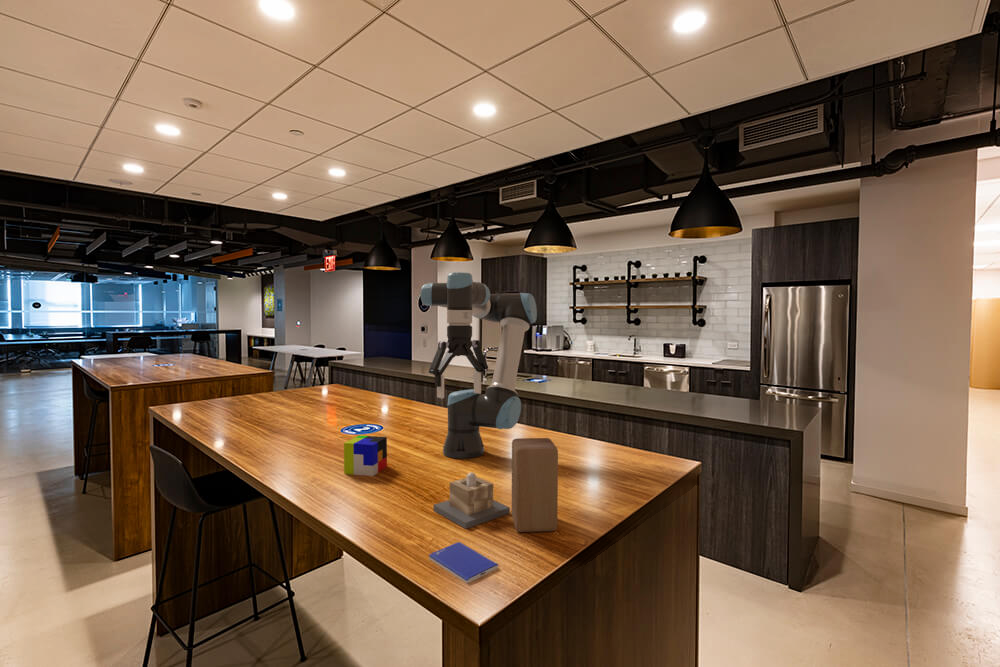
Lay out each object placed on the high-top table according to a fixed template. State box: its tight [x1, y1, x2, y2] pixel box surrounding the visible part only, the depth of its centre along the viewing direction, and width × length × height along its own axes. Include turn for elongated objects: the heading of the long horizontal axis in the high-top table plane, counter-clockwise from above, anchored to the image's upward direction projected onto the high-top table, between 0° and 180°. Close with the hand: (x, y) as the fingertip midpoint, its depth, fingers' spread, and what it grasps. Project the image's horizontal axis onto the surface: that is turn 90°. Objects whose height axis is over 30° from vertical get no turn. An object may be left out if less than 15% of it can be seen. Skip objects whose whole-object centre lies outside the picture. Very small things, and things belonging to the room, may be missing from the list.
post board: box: [432, 472, 511, 530], centre depth 121 cm, size 14×14×10 cm
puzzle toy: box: [343, 434, 388, 477], centre depth 155 cm, size 10×10×10 cm
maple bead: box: [449, 476, 494, 515], centre depth 122 cm, size 8×8×6 cm
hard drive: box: [428, 541, 499, 584], centre depth 96 cm, size 2×8×12 cm
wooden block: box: [511, 437, 559, 533], centre depth 114 cm, size 10×10×20 cm
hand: (459, 395), depth 142 cm, fingers open, 13 cm apart
